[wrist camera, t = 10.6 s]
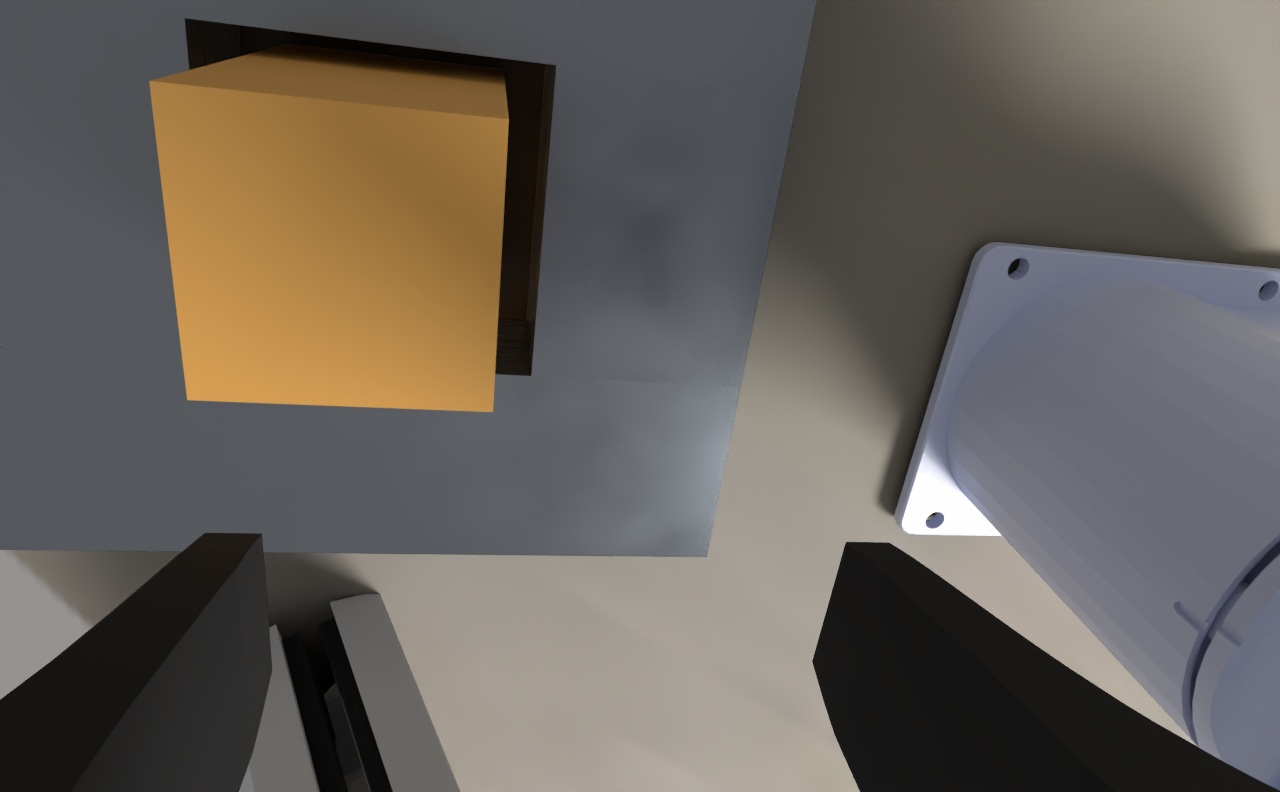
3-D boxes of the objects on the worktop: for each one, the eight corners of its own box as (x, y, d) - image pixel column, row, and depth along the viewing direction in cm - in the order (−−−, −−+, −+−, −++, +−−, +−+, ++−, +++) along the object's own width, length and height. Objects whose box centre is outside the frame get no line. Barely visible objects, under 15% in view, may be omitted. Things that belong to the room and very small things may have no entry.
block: (503, 69, 16) (508, 118, 10) (493, 265, 18) (492, 412, 12) (287, 43, 16) (148, 80, 9) (298, 251, 17) (187, 400, 11)
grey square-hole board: (792, -163, 15) (855, -194, 13) (679, 485, 21) (706, 557, 19) (-81, -329, 13) (-235, -415, 10) (68, 468, 18) (-3, 549, 16)
